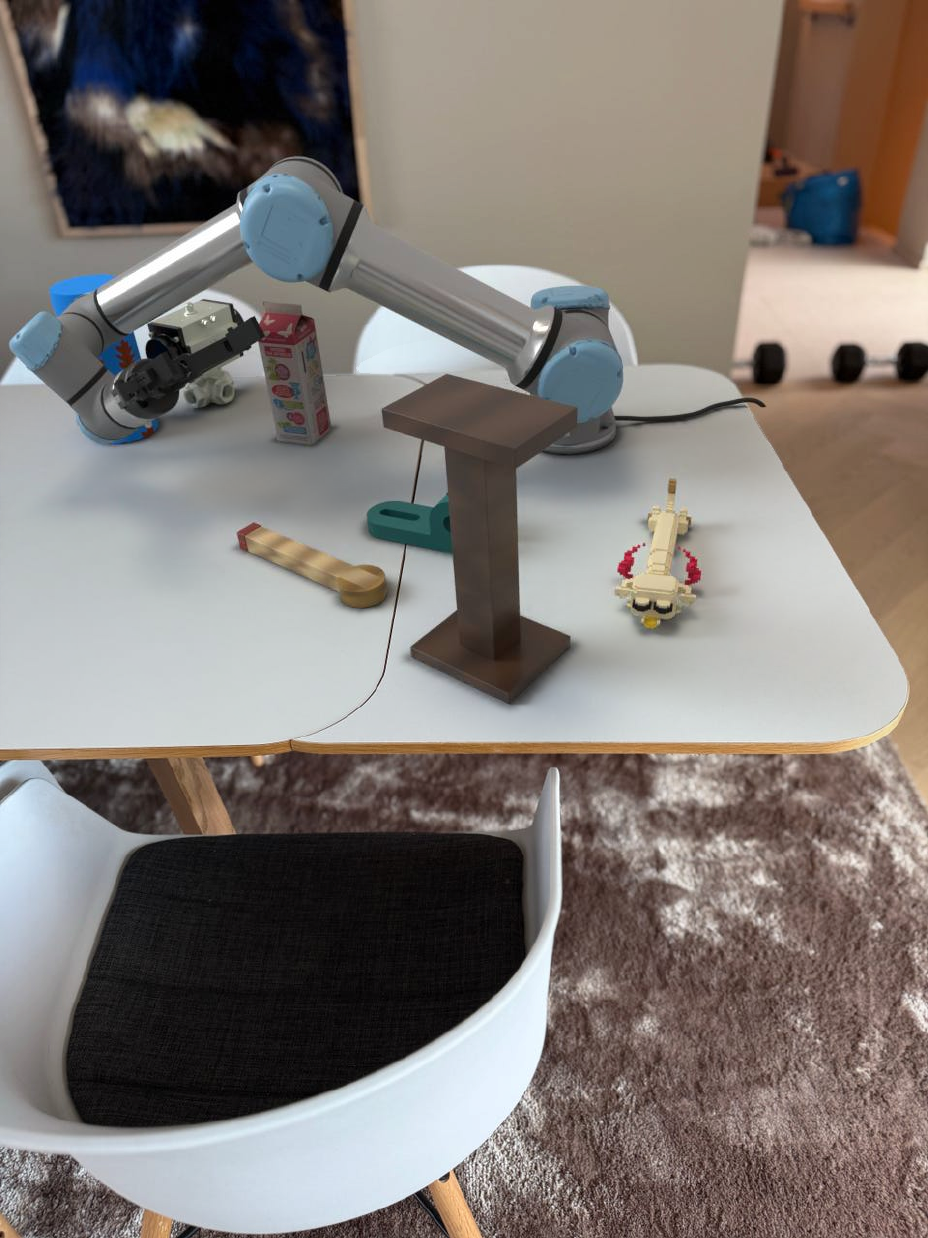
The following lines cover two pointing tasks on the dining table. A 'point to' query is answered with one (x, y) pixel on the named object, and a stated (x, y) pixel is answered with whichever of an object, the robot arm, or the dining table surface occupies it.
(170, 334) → the ball valve
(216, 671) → the dining table surface
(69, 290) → the thermos
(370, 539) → the dining table surface
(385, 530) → the bracket
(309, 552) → the pointer
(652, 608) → the cream toy animal figure
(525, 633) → the stand
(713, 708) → the dining table surface
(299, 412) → the juice carton
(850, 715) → the dining table surface
